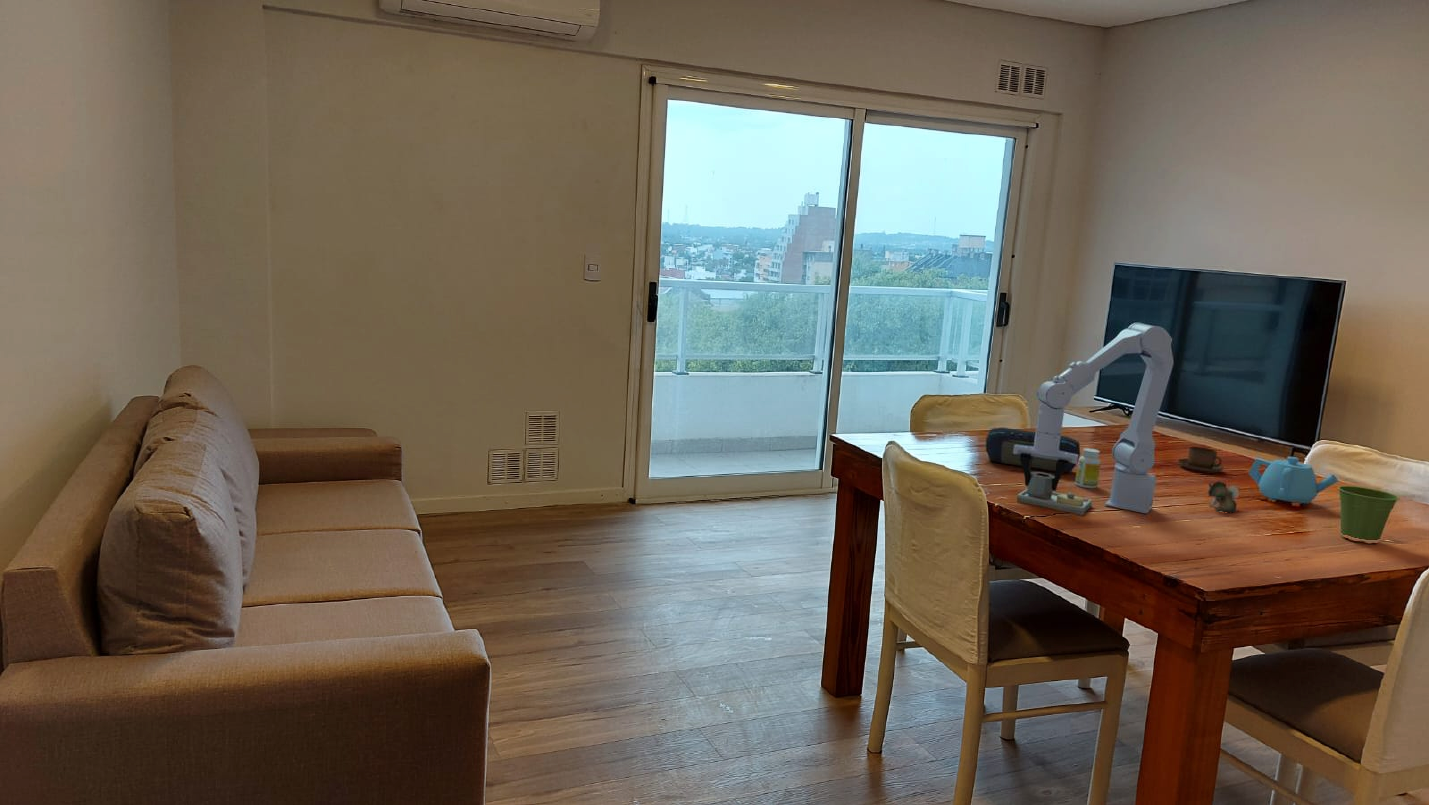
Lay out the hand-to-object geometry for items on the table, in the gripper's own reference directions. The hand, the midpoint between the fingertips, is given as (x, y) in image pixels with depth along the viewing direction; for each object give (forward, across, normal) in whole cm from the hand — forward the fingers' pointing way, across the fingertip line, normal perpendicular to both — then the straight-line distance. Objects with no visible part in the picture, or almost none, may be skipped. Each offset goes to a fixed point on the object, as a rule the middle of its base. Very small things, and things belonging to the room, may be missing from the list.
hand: (1040, 487), depth 233 cm
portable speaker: (+4, +8, -38) cm, 39 cm away
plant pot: (+4, -68, -19) cm, 70 cm away
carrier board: (+3, -4, 0) cm, 5 cm away
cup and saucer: (+4, -35, -74) cm, 82 cm away
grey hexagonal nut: (+2, 0, 0) cm, 2 cm away
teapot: (+4, -55, -48) cm, 74 cm away
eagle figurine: (+4, -39, -27) cm, 48 cm away
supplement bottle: (+4, -8, -26) cm, 27 cm away
